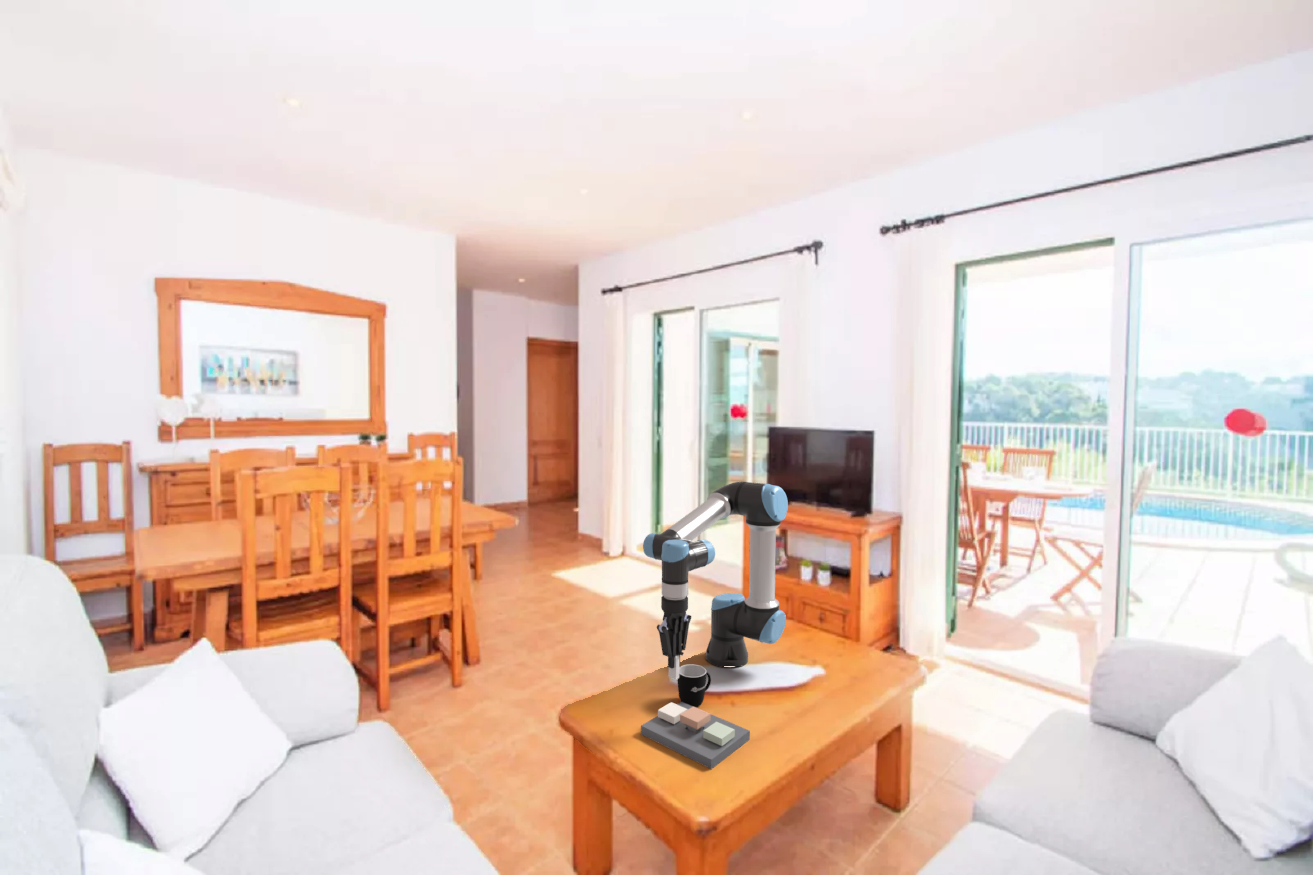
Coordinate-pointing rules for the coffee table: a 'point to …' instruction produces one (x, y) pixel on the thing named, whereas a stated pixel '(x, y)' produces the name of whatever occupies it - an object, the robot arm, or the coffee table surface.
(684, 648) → the robot arm
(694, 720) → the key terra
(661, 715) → the key ivory
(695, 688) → the mug
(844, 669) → the coffee table surface
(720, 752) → the keypad base
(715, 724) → the key sage
